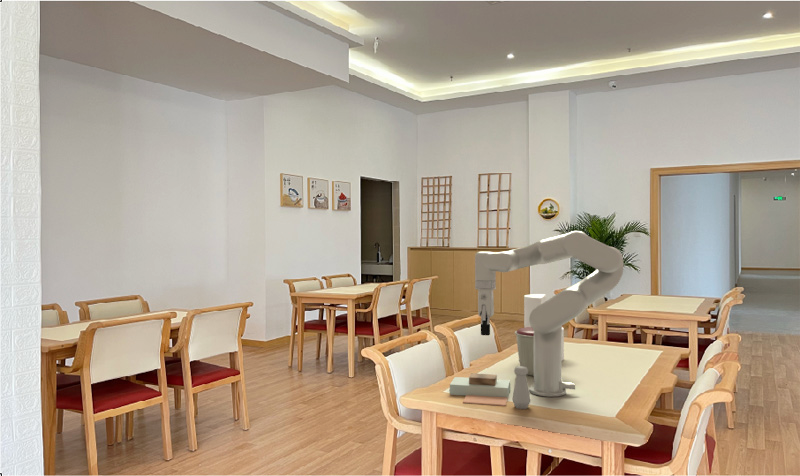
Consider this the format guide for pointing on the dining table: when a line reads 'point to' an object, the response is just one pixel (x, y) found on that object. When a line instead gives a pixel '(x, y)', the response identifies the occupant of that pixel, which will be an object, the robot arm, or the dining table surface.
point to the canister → (526, 348)
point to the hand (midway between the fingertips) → (485, 334)
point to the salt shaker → (521, 388)
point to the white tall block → (533, 302)
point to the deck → (479, 388)
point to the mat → (485, 400)
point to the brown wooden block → (483, 379)
